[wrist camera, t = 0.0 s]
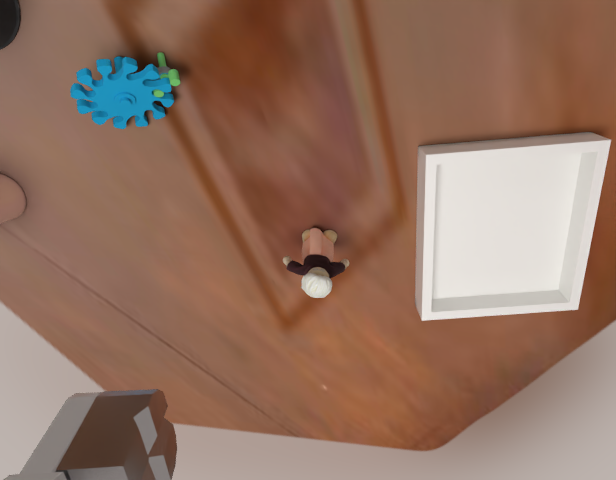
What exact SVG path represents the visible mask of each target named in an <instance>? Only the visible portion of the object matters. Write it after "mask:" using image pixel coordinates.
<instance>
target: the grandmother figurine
mask: <svg viewBox="0 0 616 480" xmlns="http://www.w3.org/2000/svg"><path fill="white" fill-rule="evenodd" d="M302 239H303V247H302V260H303V263H304V265H301V264H300V263H298V262H296V261H293V260H292V259H291V258H290V257H289V256H285V257H284V258H283V262H284V264H286V266H287V270H289V271H291V272H294V273H296V274H298V275H304V277H303V278H302V281H301V282H302V289H303V290H304V291H305V292H306V294H308V295H309V296H311V297H314V298H323V297H325V296H326V295H327V294H329V293H330V291H331V288H332V281H331V279H330V278H332V277H334V276H336V275H338V274H340V273H342V272H343V271H344V270H345V269H346V267H348V265H349V261H348V260H347V259H343V260H341V261H340V262H332V261H333V250H334V249H333V245H334V243H335V241H336V239H337V234H336V232H334V231H332V230H326V231H324V232H323V233H322V231H321V230H320V229H317V228H312V229H310V230H305V231H304V232H303V234H302Z"/></svg>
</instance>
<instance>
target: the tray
mask: <svg viewBox="0 0 616 480" xmlns="http://www.w3.org/2000/svg"><path fill="white" fill-rule="evenodd" d="M610 143H611V140H610V139H608V138H605V137H603V136H600V135H597V134H595V133H592V132H583V133H571V134H558V135H546V136H534V137H522V138H510V139H498V140H486V141H474V142H461V143H449V144H437V145H425V146H418V176H417V230H416V284H415V305H416V307H417V310H418V312H419V315H420V318H421V320H422V321H423V320H437V319H452V318H466V317H480V316H494V315H508V314H522V313H536V312H550V311H564V310H578V306H579V301H580V296H581V291H582V285H583V280H584V275H585V270H586V265H587V260H588V255H589V250H590V245H591V240H592V235H593V229H594V224H595V219H596V214H597V209H598V204H599V199H600V194H601V189H602V184H603V178H604V173H605V168H606V163H607V158H608V153H609V148H610Z"/></svg>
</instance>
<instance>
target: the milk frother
mask: <svg viewBox="0 0 616 480" xmlns="http://www.w3.org/2000/svg"><path fill="white" fill-rule="evenodd" d="M19 24H20V9H19V4H18V0H0V49H2V48H4V47H6V46H7V45H8V44H10V43H11V42H12V40H13V39H14V37H15V36H16V34H17V31H18V29H19Z"/></svg>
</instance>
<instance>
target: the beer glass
mask: <svg viewBox="0 0 616 480" xmlns="http://www.w3.org/2000/svg"><path fill="white" fill-rule="evenodd" d="M25 207H26V198H25V194H24V192H23V190H22V189H21V187H20V186H19V185H18V184H17V183H16V182H15V181H14V180H13V179H11V178H10V177H8V176H5V175H3V174H0V224H2V223H4V222H7V221H10V220H13V219H15V218H17V217H19V216H20V215H21V214H22V213H23V212H24V210H25Z"/></svg>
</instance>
